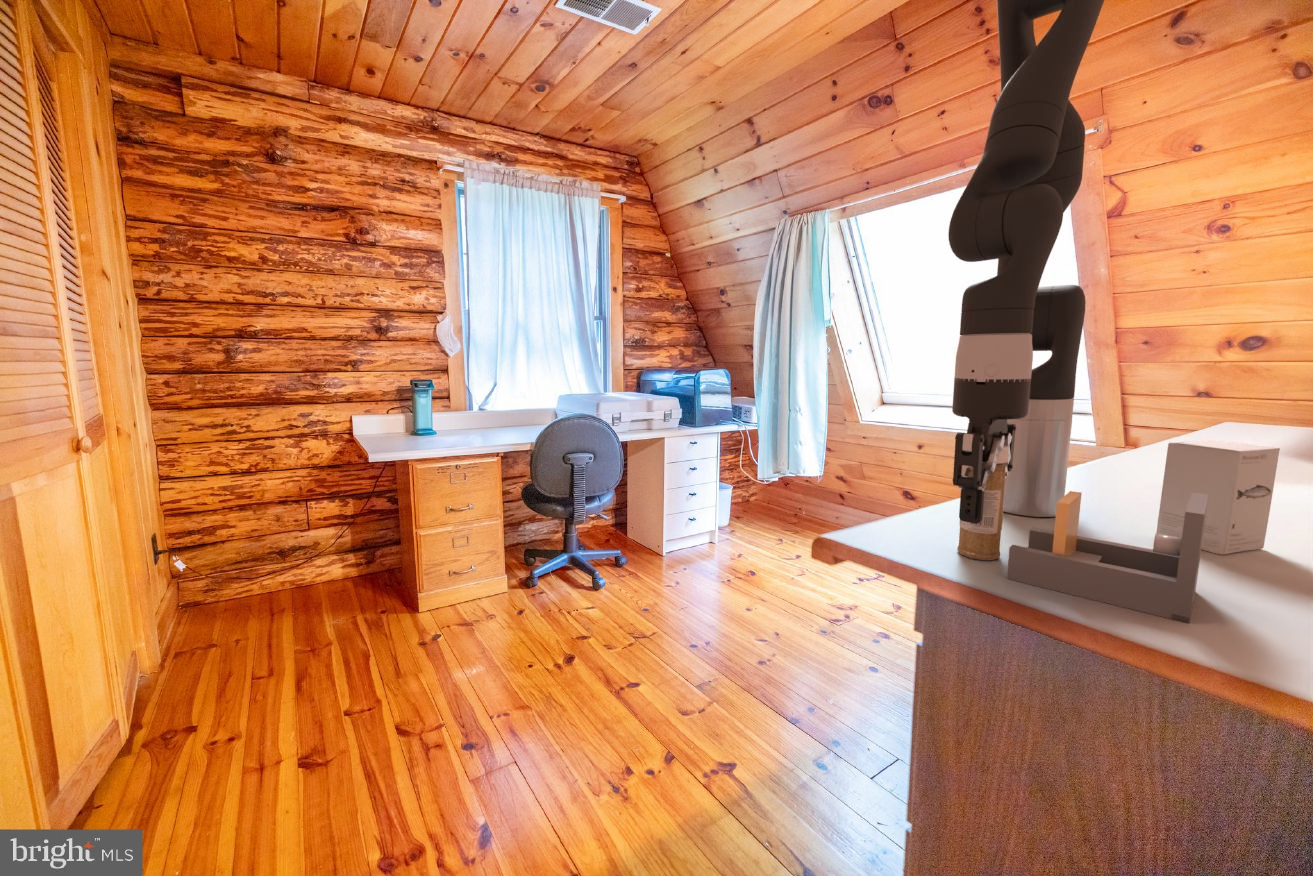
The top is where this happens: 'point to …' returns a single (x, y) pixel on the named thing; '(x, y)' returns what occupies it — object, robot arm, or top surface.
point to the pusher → (1069, 528)
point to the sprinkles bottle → (987, 517)
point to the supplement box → (1220, 492)
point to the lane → (1121, 568)
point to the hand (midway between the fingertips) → (981, 514)
